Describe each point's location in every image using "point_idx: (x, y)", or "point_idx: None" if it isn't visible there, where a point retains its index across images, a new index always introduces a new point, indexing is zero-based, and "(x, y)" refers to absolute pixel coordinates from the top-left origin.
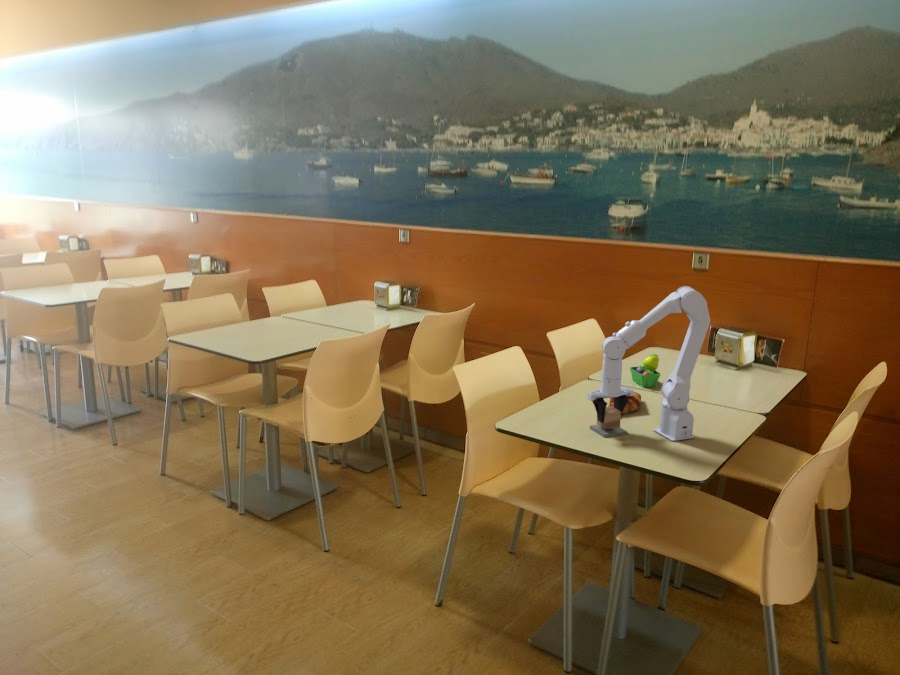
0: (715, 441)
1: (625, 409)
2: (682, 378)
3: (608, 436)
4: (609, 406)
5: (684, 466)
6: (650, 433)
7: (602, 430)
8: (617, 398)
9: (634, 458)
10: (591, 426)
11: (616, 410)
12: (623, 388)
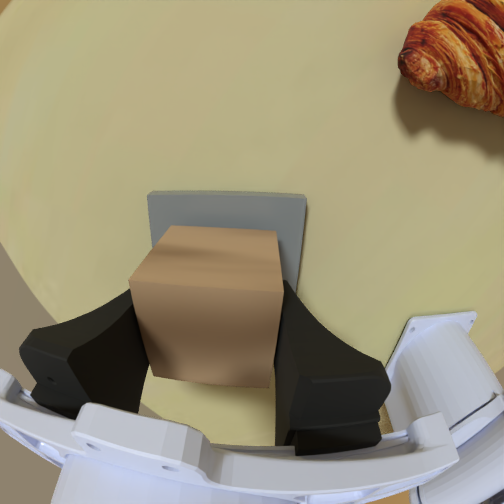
0: None
1: (474, 107)
2: None
3: None
4: (416, 36)
5: None
6: (379, 333)
7: None
8: (283, 429)
9: (191, 423)
10: (150, 209)
11: (252, 370)
12: (406, 480)
